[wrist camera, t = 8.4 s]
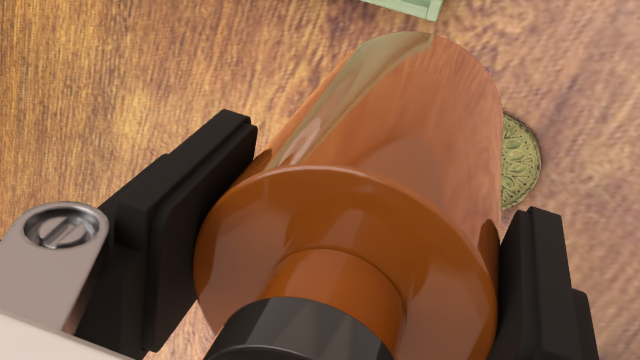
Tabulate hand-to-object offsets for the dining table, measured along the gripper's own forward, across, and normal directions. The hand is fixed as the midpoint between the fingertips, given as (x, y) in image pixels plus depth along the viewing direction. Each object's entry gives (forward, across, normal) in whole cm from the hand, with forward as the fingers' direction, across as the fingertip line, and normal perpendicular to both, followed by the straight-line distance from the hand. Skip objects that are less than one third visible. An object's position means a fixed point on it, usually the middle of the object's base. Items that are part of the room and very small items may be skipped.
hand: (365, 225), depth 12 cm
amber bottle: (+6, 0, 0) cm, 6 cm away
